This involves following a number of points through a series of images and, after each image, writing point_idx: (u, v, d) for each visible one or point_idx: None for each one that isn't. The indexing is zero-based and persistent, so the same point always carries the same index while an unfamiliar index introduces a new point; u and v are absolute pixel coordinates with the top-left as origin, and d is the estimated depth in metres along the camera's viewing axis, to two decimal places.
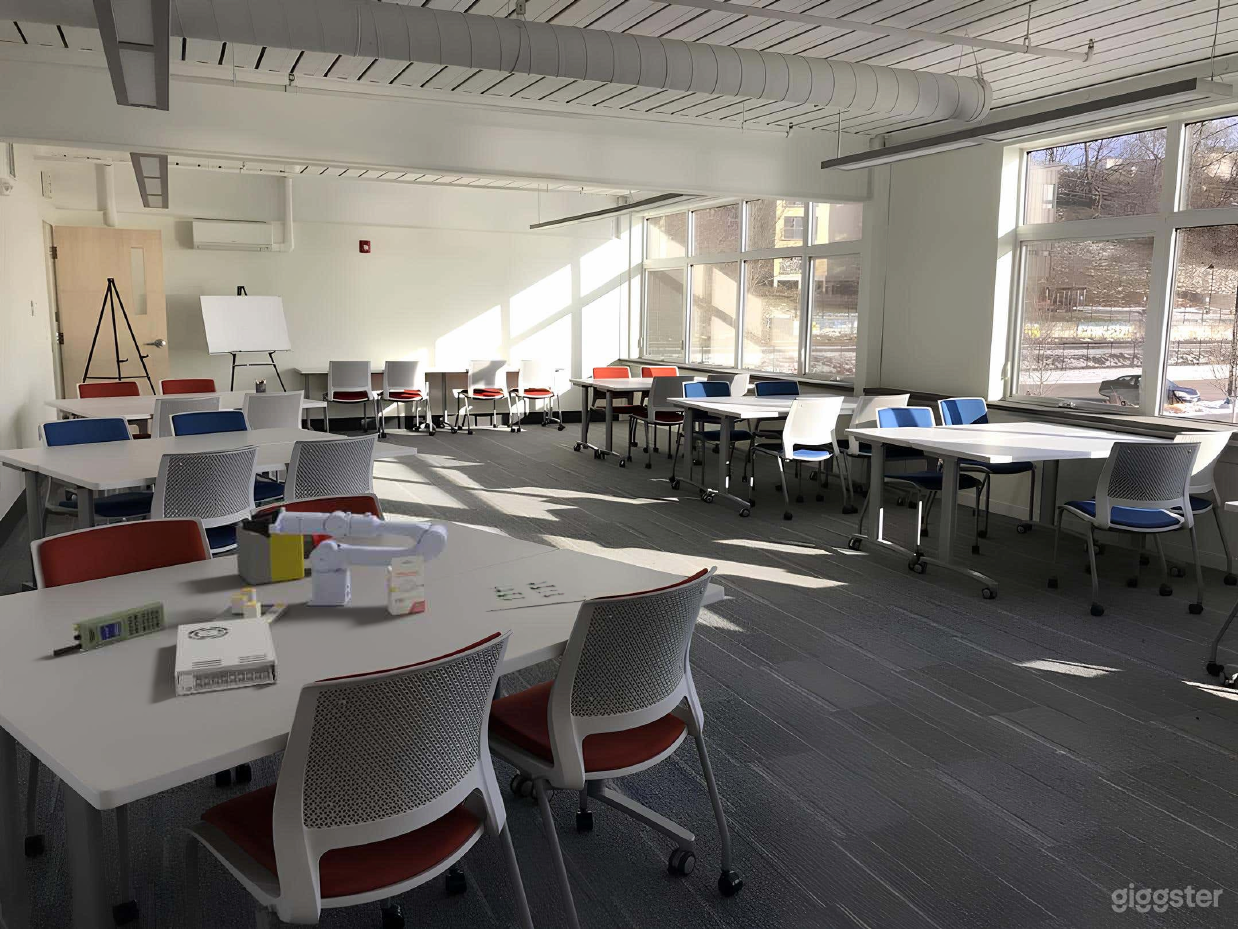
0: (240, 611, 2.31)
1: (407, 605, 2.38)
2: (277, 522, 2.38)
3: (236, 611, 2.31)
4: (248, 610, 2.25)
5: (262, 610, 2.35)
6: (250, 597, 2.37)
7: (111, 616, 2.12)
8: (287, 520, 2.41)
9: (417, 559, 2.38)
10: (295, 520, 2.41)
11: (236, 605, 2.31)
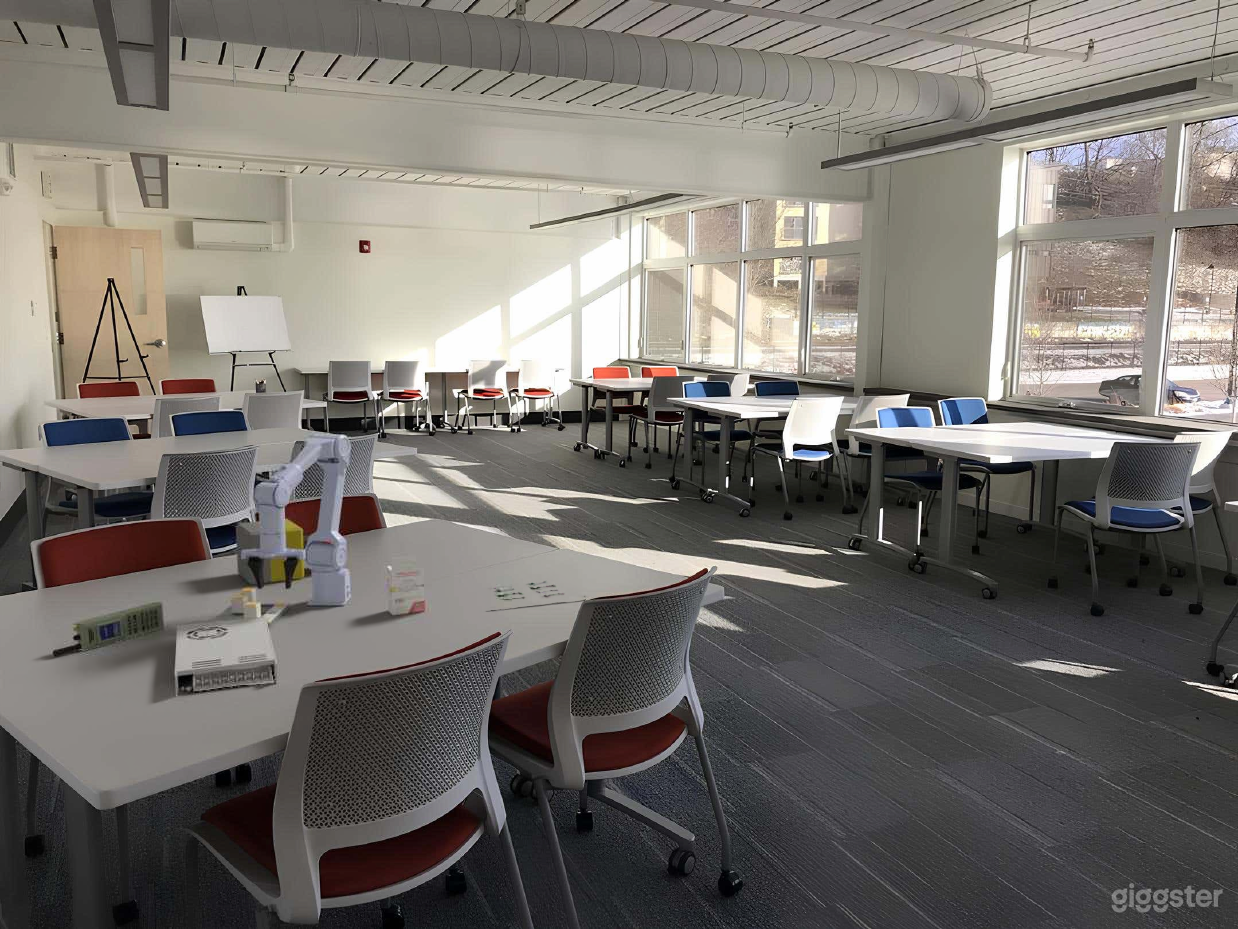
0: (240, 611, 2.31)
1: (407, 605, 2.38)
2: (294, 553, 2.24)
3: (236, 611, 2.31)
4: (248, 610, 2.25)
5: (262, 610, 2.35)
6: (250, 597, 2.37)
7: (110, 615, 2.13)
8: (282, 545, 2.23)
9: (417, 559, 2.38)
10: (281, 537, 2.23)
11: (236, 605, 2.31)
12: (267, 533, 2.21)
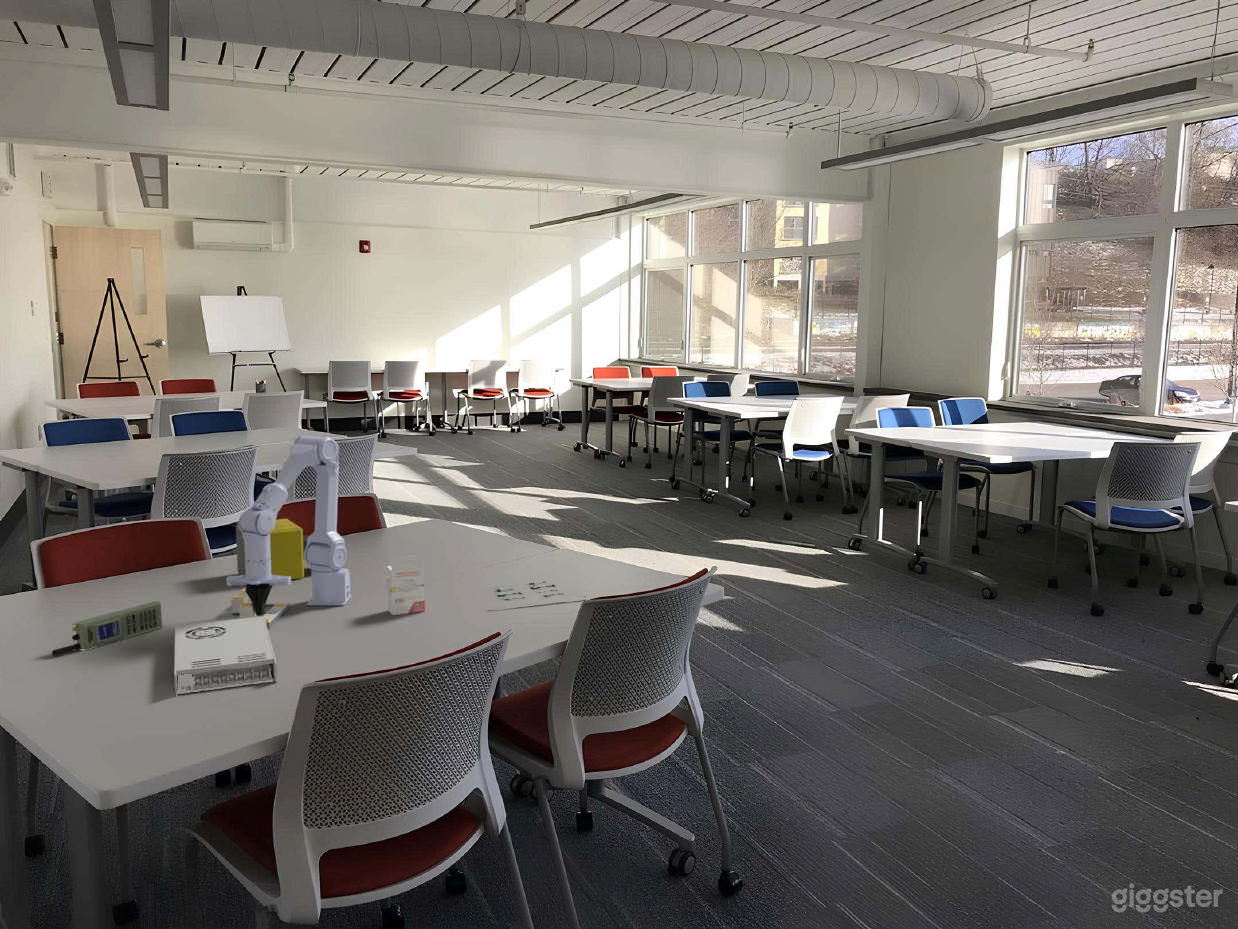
0: None
1: (407, 605, 2.38)
2: (279, 580, 2.24)
3: (236, 611, 2.31)
4: (243, 610, 2.25)
5: None
6: None
7: (109, 615, 2.13)
8: (267, 572, 2.24)
9: (417, 559, 2.38)
10: (267, 564, 2.24)
11: (236, 605, 2.31)
12: (250, 560, 2.22)
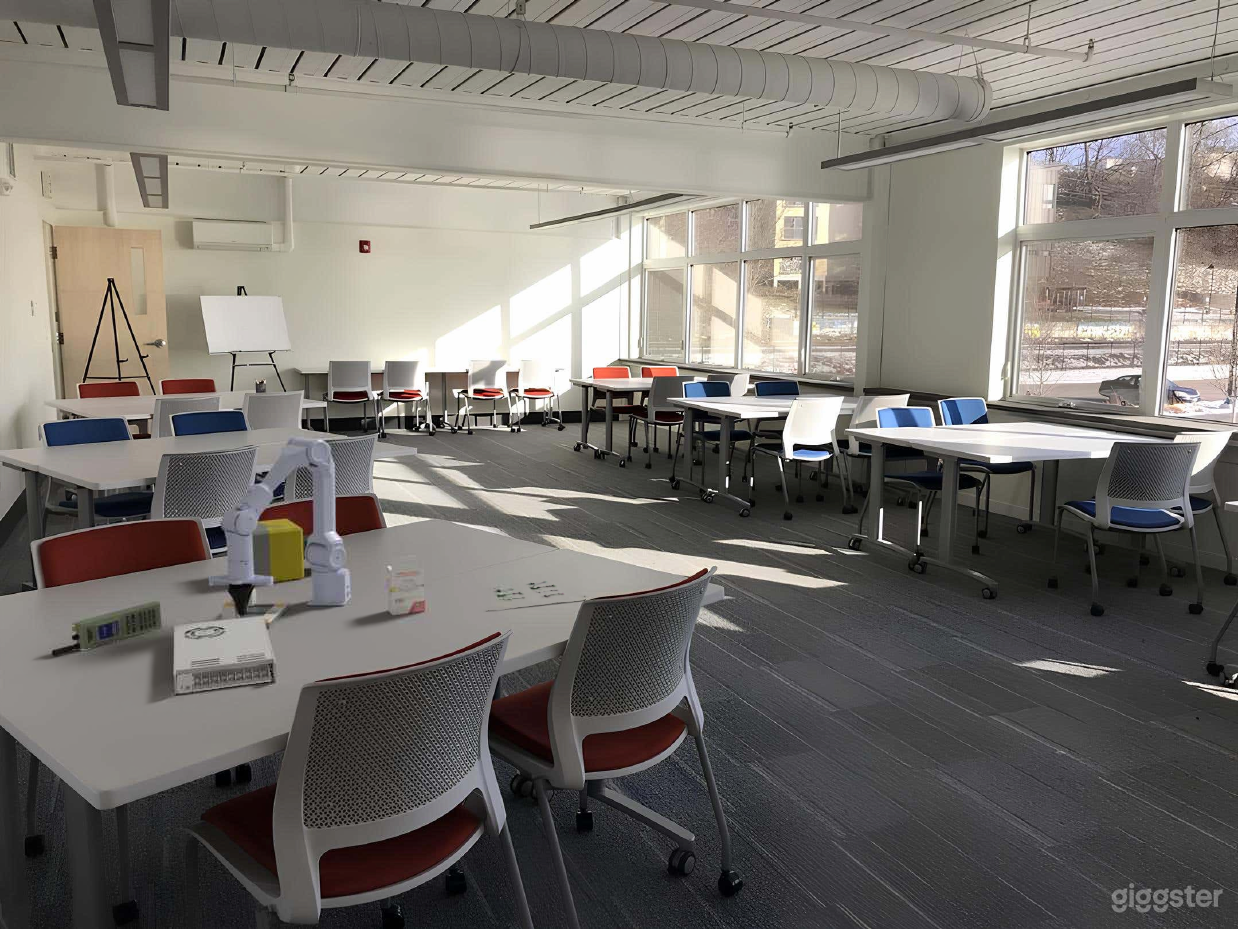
0: None
1: (407, 605, 2.38)
2: (261, 580, 2.24)
3: None
4: (226, 610, 2.25)
5: (262, 610, 2.35)
6: (250, 597, 2.37)
7: (109, 615, 2.13)
8: (250, 572, 2.24)
9: (417, 559, 2.38)
10: (249, 564, 2.23)
11: None
12: (231, 560, 2.22)
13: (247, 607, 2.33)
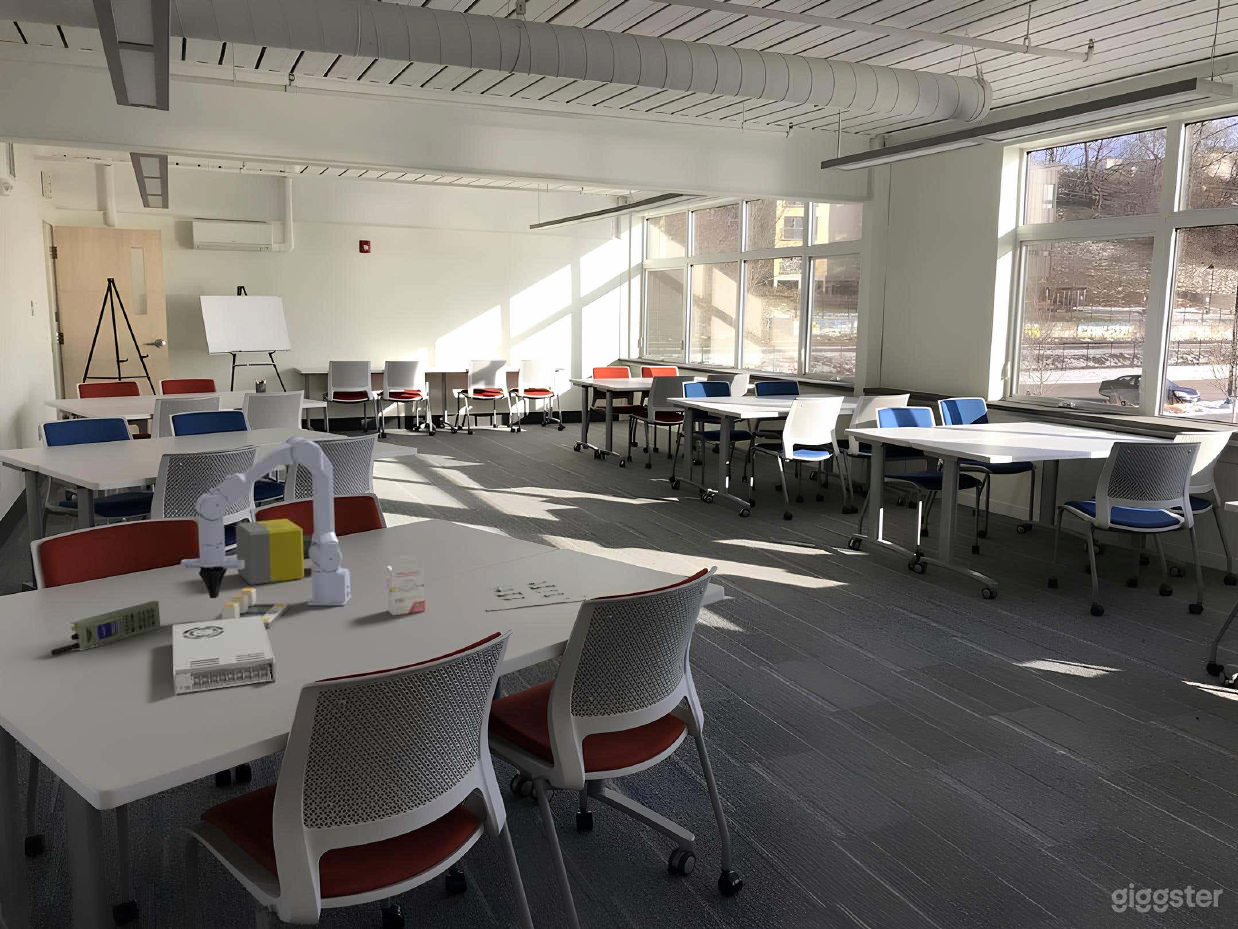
0: (240, 611, 2.31)
1: (407, 605, 2.38)
2: (232, 563, 2.29)
3: None
4: (226, 610, 2.25)
5: (262, 610, 2.35)
6: (250, 597, 2.37)
7: (108, 615, 2.13)
8: (221, 555, 2.29)
9: (417, 559, 2.38)
10: (220, 548, 2.29)
11: None
12: (200, 543, 2.28)
13: (247, 607, 2.33)
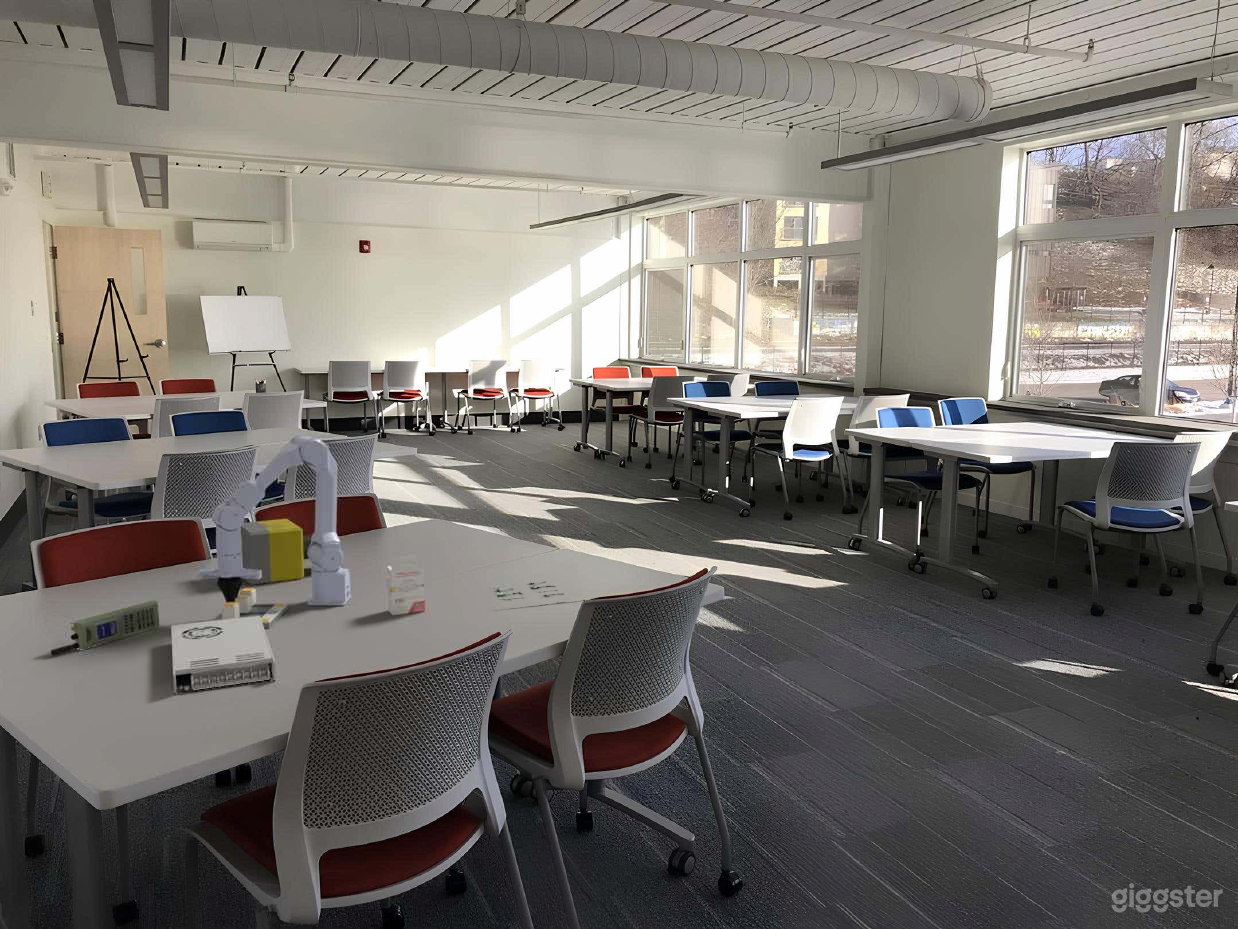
0: (244, 611, 2.31)
1: (407, 605, 2.38)
2: (250, 573, 2.30)
3: (240, 611, 2.31)
4: (226, 610, 2.25)
5: (262, 610, 2.35)
6: None
7: (107, 615, 2.13)
8: (239, 565, 2.30)
9: (417, 559, 2.38)
10: (238, 558, 2.29)
11: (239, 605, 2.31)
12: (218, 553, 2.28)
13: (251, 607, 2.33)
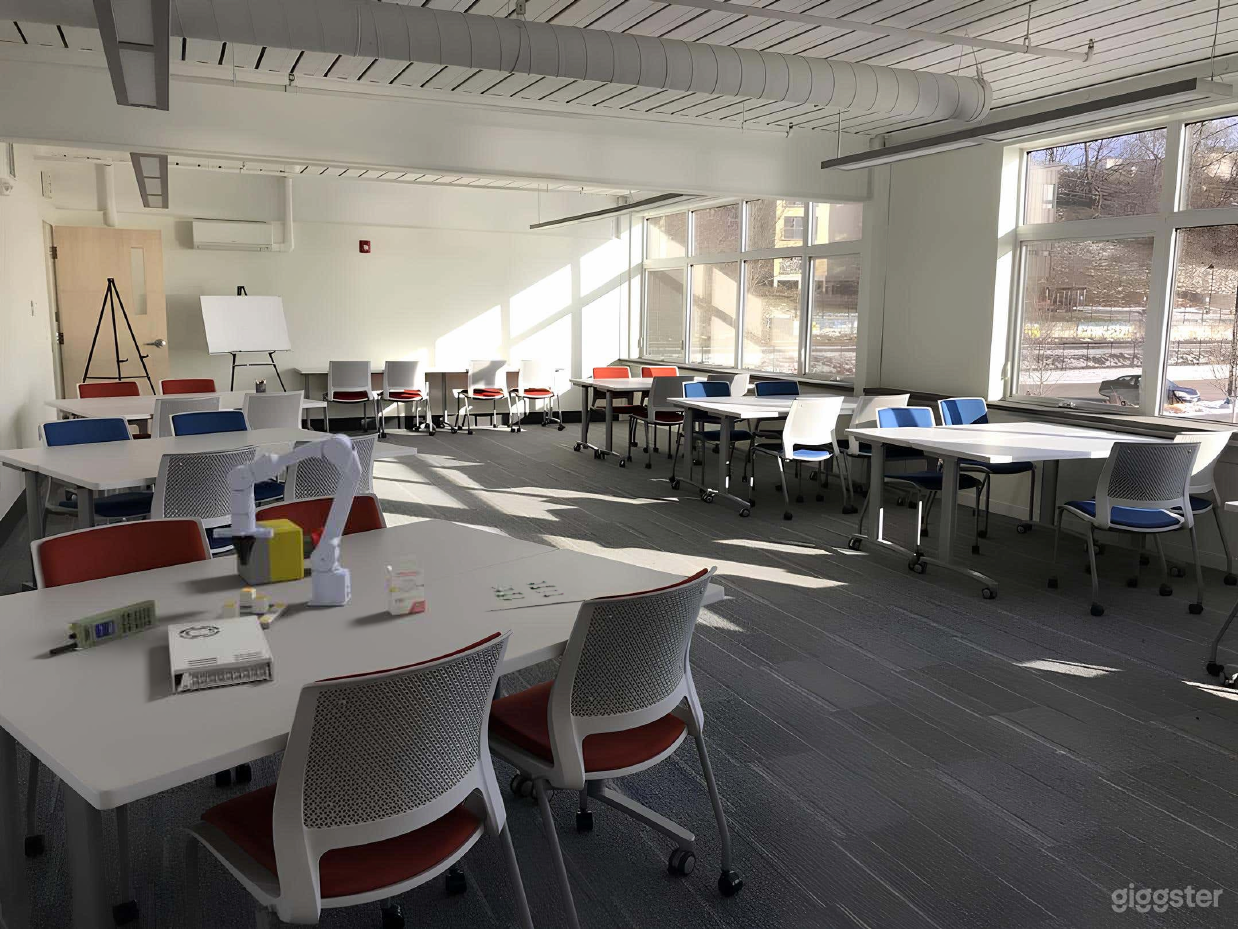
0: (261, 611, 2.31)
1: (407, 605, 2.38)
2: (262, 532, 2.41)
3: (257, 611, 2.31)
4: (226, 610, 2.25)
5: None
6: (250, 597, 2.37)
7: (105, 614, 2.14)
8: (251, 524, 2.40)
9: (417, 559, 2.38)
10: (251, 517, 2.40)
11: (257, 605, 2.31)
12: None
13: (268, 607, 2.34)
